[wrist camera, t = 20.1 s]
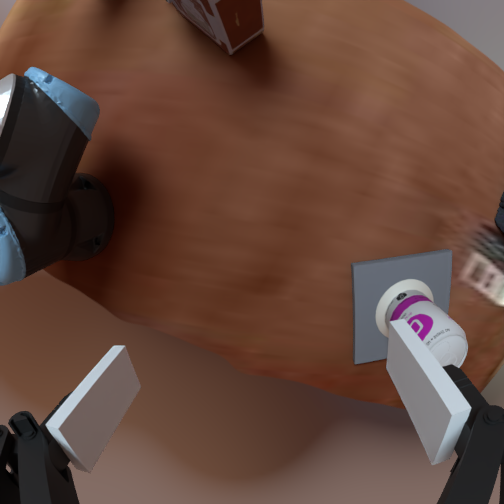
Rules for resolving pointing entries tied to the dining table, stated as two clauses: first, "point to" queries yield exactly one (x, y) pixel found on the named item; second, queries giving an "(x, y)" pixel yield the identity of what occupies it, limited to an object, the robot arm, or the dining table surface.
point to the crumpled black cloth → (500, 214)
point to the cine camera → (224, 20)
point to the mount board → (393, 295)
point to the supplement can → (430, 326)
